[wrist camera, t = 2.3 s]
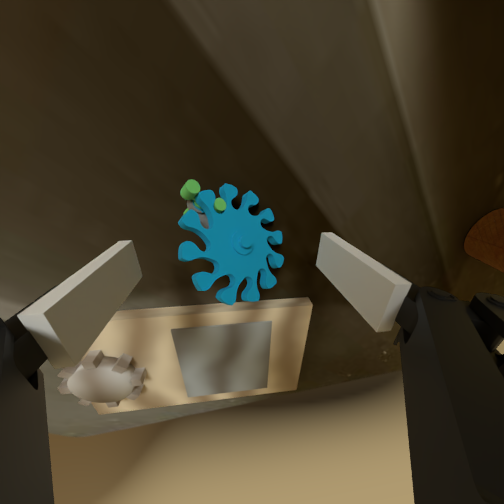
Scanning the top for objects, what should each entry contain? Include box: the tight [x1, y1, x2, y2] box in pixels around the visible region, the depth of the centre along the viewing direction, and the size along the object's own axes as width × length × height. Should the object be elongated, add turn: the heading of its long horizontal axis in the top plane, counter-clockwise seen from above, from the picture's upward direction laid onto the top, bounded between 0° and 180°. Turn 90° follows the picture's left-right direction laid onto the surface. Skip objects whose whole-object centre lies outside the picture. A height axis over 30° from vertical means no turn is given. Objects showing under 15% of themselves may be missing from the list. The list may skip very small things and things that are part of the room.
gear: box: [178, 180, 284, 305], centre depth 17 cm, size 11×6×10 cm
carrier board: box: [57, 297, 313, 415], centre depth 25 cm, size 31×18×3 cm, turn 89°
